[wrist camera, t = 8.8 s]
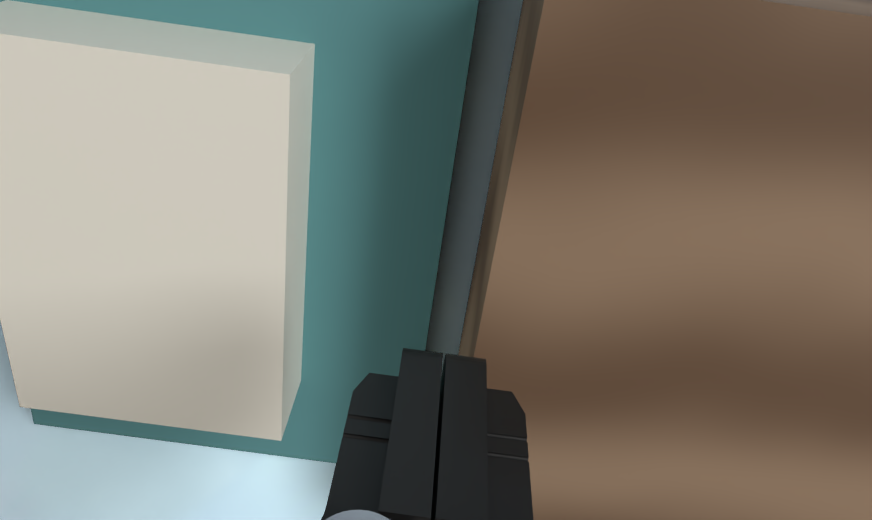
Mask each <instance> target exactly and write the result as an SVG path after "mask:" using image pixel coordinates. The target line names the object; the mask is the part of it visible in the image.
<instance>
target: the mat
mask: <svg viewBox="0 0 872 520" xmlns="http://www.w3.org/2000/svg"><path fill="white" fill-rule="evenodd" d="M2 1H5V0H0V2H2ZM11 1H18V2H25V3H32V4H39V5H46V6H53V7H60V8H67V9H74V10H81V11H88V12H95V13H102V14H109V15H116V16H123V17H130V18H137V19H144V20H151V21H158V22H165V23H172V24H179V25H186V26H193V27H200V28H207V29H214V30H221V31H228V32H235V33H243V34H250V35H257V36H264V37H271V38H278V39H285V40H292V41H299V42H306V43H313V44H315V53H314V77H313V102H312V126H311V150H310V174H309V199H308V223H307V247H306V272H305V296H304V320H303V344H302V369H301V382H300V385H299V388H298V391H297V394H296V397H295V400H294V403H293V406H292V409H291V413H290V416H289V419H288V422H287V425H286V428H285V431H284V434H283V437H282V440H281V441H278V440H271V439H263V438H255V437H248V436H240V435H232V434H225V433H217V432H209V431H201V430H194V429H186V428H178V427H171V426H163V425H155V424H148V423H140V422H132V421H125V420H117V419H109V418H102V417H94V416H86V415H79V414H71V413H63V412H56V411H48V410H40V409H33V408H31V412H32V416H33V421H34V424H40V425H47V426H55V427H63V428H70V429H78V430H86V431H93V432H101V433H109V434H116V435H124V436H132V437H139V438H147V439H154V440H162V441H170V442H177V443H185V444H193V445H200V446H208V447H216V448H223V449H231V450H239V451H246V452H254V453H262V454H269V455H277V456H285V457H292V458H300V459H308V460H315V461H323V462H331V463H336V462H337V458H338V454H339V449H340V445H341V441H342V438H343V432H344V428H345V423H346V419H347V415H348V410H349V406H350V401H351V397H352V393H353V390H354V389H355V388H356V387H357V386H358V385H359V384H360V382H361V381H362V380H363V379H364V378H365V377H366V376H367V375H368V374H369V373H376V374H383V375H391V376H399V370H400V363H401V357H402V350H403V348H408V349H415V350H423V351H425V348H426V342H427V335H428V329H429V322H430V316H431V309H432V302H433V296H434V289H435V283H436V276H437V270H438V263H439V257H440V250H441V244H442V237H443V231H444V224H445V218H446V211H447V205H448V198H449V192H450V185H451V178H452V172H453V165H454V159H455V152H456V146H457V139H458V133H459V126H460V120H461V113H462V107H463V100H464V94H465V87H466V81H467V74H468V68H469V61H470V54H471V48H472V41H473V35H474V28H475V22H476V15H477V9H478V2H479V0H11Z"/></svg>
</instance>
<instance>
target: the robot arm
mask: <svg viewBox="0 0 872 520" xmlns="http://www.w3.org/2000/svg"><path fill="white" fill-rule="evenodd" d="M442 358H443V353H437V352H430V351H423V350H415V349H408V348H403V350H402V357H401V363H400V370H399V376H391V375H383V374H376V373H369V374H368V375H367V376H366V377H365V378H364V379H363V380H362V381H361V382H360V384H359V385H358V386H357V387H356V388H355V389H354V390H353V393H352V397H351V401H350V406H349V410H348V415H347V419H346V423H345V428H344V432H343V438H342V441H341V445H340V449H339V454H338V458H337V462H336V467H335V471H334V475H333V480H332V484H331V489H330V493H329V497H328V502H327V506H326V509H325V512H324V515H323V517H322V519H321V520H533V507H532V494H531V481H530V468H529V462H528V458H529V455H528V442H527V428H526V415H525V412H524V411H523V409H522V407H521V406H520V404H519V402H518V401H517V399H516V397H515V396H514V394H513V392H511V391H504V390H496V389H489V388H487V364H486V359H483V358H476V357H468V356H461V355H453V354H446V355H445V359H444V364H443V370H442ZM441 372H442V376H441Z"/></svg>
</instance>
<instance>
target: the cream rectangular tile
mask: <svg viewBox="0 0 872 520" xmlns="http://www.w3.org/2000/svg"><path fill="white" fill-rule="evenodd" d="M314 53H315V44H313V43H306V42H299V41H292V40H285V39H278V38H271V37H264V36H257V35H250V34H243V33H235V32H228V31H221V30H214V29H207V28H200V27H193V26H186V25H179V24H172V23H165V22H158V21H151V20H144V19H137V18H130V17H123V16H116V15H109V14H102V13H95V12H88V11H81V10H74V9H67V8H60V7H53V6H46V5H39V4H32V3H25V2H18V1H11V0H5V1H2V2H0V321H1V325H2V329H3V334H4V338H5V343H6V347H7V352H8V356H9V361H10V365H11V370H12V374H13V378H14V383H15V387H16V392H17V396H18V401H19V405H20V407H25V408H33V409H40V410H48V411H56V412H63V413H71V414H79V415H86V416H94V417H102V418H109V419H117V420H125V421H132V422H140V423H148V424H155V425H163V426H171V427H178V428H186V429H194V430H201V431H209V432H217V433H225V434H232V435H240V436H248V437H255V438H263V439H271V440H278V441H281V440H282V437H283V434H284V431H285V428H286V425H287V422H288V419H289V416H290V413H291V409H292V406H293V403H294V400H295V397H296V394H297V391H298V388H299V385H300V382H301V369H302V344H303V320H304V296H305V272H306V247H307V223H308V199H309V174H310V150H311V126H312V102H313V77H314Z"/></svg>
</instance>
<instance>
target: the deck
mask: <svg viewBox="0 0 872 520" xmlns="http://www.w3.org/2000/svg"><path fill="white" fill-rule="evenodd" d="M458 355H461V356H468V357H476V358H483V359H486V364H487V388H489V389H496V390H504V391H511V392H513V394H514V396H515V397H516V399H517V401H518V402H519V404H520V406H521V407H522V409H523V411H524V412H525V415H526V428H527V442H528V455H529V458H528V462H529V468H530V481H531V494H532V507H533V520H872V0H523V4H522V9H521V15H520V20H519V25H518V31H517V36H516V42H515V47H514V53H513V58H512V64H511V69H510V74H509V80H508V85H507V91H506V96H505V102H504V107H503V113H502V118H501V123H500V129H499V134H498V140H497V145H496V151H495V156H494V162H493V167H492V173H491V178H490V183H489V189H488V194H487V200H486V205H485V211H484V216H483V222H482V227H481V232H480V238H479V243H478V249H477V254H476V260H475V265H474V271H473V276H472V281H471V287H470V292H469V298H468V303H467V309H466V314H465V320H464V325H463V330H462V336H461V341H460V347H459V352H458Z"/></svg>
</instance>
